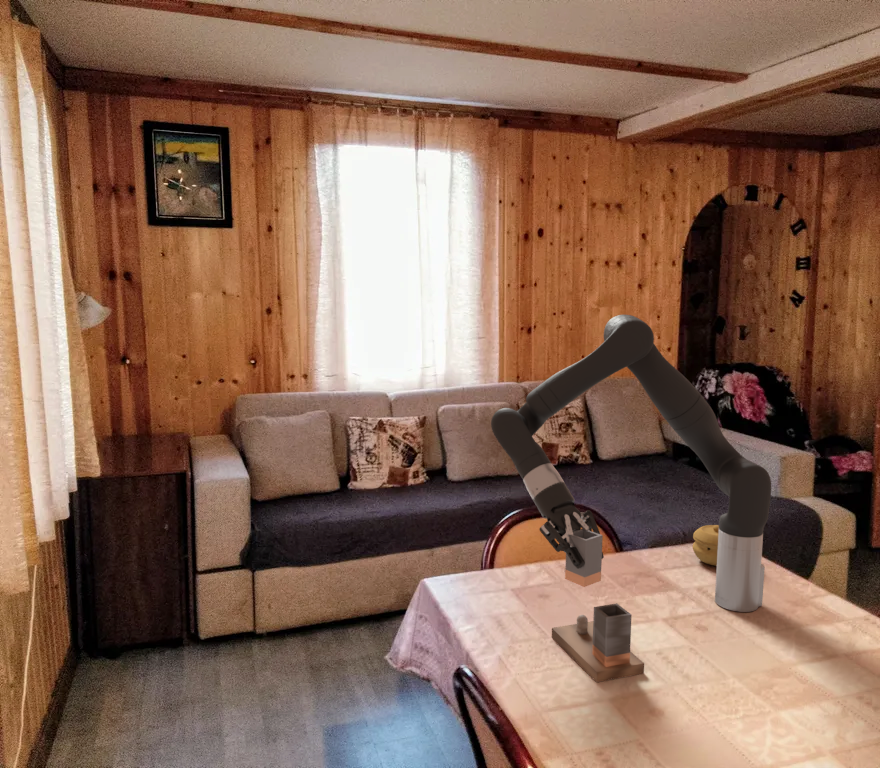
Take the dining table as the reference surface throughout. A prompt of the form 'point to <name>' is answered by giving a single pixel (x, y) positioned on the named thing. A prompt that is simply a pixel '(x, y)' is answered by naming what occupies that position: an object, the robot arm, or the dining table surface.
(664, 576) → the dining table surface
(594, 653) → the pin board
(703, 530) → the pot
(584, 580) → the sleeve
